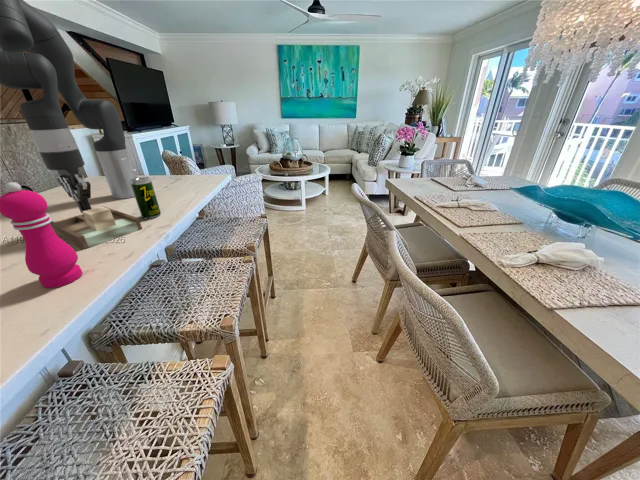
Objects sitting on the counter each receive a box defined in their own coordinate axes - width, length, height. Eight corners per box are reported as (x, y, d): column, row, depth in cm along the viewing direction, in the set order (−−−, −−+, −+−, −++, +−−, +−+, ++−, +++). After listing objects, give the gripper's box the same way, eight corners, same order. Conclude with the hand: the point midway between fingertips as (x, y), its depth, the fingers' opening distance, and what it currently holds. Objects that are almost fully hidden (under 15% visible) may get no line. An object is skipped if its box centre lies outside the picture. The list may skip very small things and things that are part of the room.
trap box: (106, 215, 85) (102, 206, 83) (142, 228, 76) (138, 218, 74) (50, 232, 74) (45, 221, 72) (84, 249, 65) (78, 237, 63)
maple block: (107, 221, 74) (101, 206, 72) (115, 224, 72) (109, 209, 70) (88, 227, 71) (82, 211, 69) (97, 230, 69) (90, 214, 67)
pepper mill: (58, 270, 57) (8, 177, 48) (94, 268, 57) (50, 176, 48) (28, 291, 50) (-37, 188, 41) (68, 288, 51) (13, 187, 42)
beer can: (138, 218, 83) (125, 180, 77) (152, 212, 87) (141, 176, 82) (151, 220, 81) (139, 181, 76) (165, 214, 86) (154, 177, 80)
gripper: (89, 148, 66) (114, 212, 74) (65, 144, 72) (90, 204, 80) (50, 152, 60) (82, 222, 68) (28, 148, 66) (60, 212, 74)
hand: (87, 212), depth 74 cm, fingers closed
